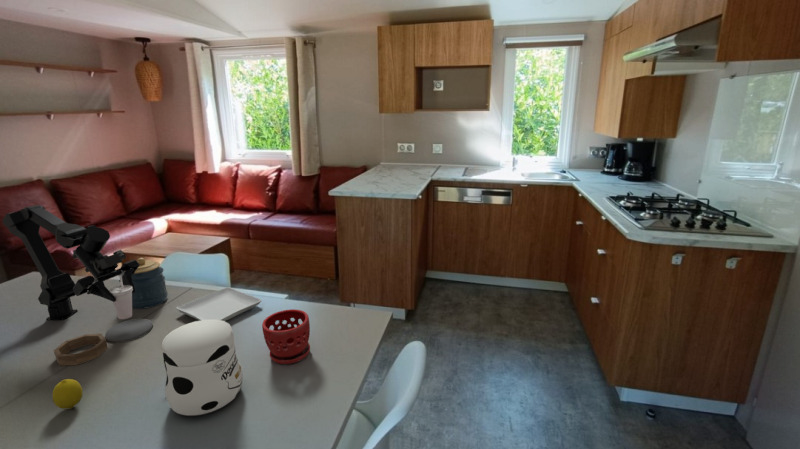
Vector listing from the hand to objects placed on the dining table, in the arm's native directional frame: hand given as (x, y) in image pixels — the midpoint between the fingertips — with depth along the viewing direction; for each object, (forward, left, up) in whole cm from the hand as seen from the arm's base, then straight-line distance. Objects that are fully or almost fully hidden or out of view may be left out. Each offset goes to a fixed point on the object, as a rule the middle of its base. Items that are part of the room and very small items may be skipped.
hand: (125, 296), depth 128 cm
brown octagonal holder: (+11, -8, -13) cm, 19 cm away
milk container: (+34, +37, -13) cm, 52 cm away
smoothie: (0, -1, -7) cm, 8 cm away
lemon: (+36, +5, -13) cm, 38 cm away
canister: (-23, -6, -13) cm, 27 cm away
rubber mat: (-1, -1, -13) cm, 13 cm away
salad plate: (-13, +24, -13) cm, 30 cm away
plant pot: (+17, +54, -13) cm, 58 cm away
